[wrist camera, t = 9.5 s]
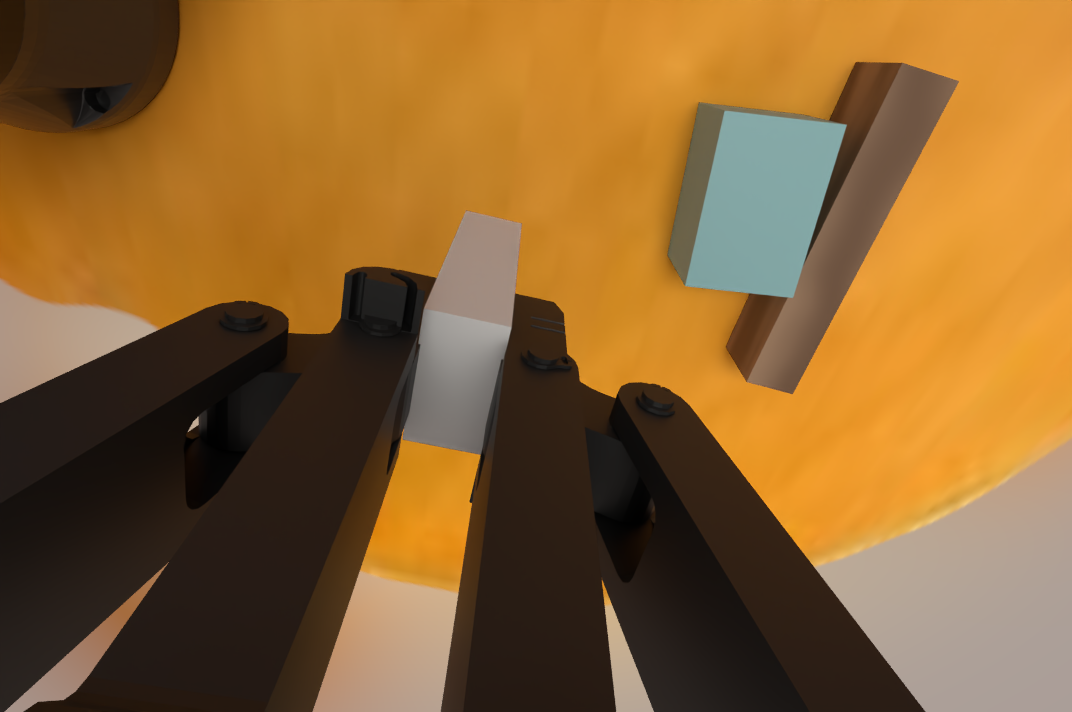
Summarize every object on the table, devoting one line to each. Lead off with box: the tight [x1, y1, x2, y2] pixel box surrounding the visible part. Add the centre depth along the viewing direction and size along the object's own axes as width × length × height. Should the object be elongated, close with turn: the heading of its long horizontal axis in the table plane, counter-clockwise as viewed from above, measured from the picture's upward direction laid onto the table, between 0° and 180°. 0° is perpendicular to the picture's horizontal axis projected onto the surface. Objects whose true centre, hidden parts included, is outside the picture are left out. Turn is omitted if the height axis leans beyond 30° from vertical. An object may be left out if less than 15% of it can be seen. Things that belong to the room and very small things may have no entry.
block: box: [668, 102, 847, 298], centre depth 34 cm, size 6×9×6 cm, turn 174°
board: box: [726, 62, 959, 394], centre depth 35 cm, size 3×18×5 cm, turn 165°
